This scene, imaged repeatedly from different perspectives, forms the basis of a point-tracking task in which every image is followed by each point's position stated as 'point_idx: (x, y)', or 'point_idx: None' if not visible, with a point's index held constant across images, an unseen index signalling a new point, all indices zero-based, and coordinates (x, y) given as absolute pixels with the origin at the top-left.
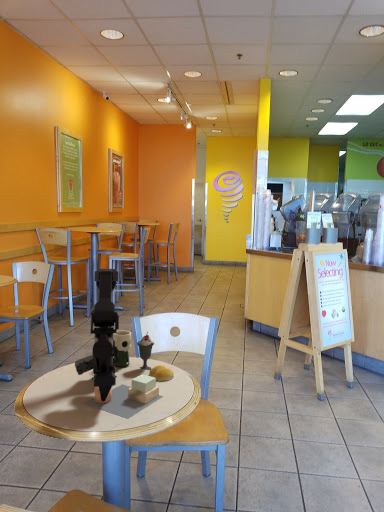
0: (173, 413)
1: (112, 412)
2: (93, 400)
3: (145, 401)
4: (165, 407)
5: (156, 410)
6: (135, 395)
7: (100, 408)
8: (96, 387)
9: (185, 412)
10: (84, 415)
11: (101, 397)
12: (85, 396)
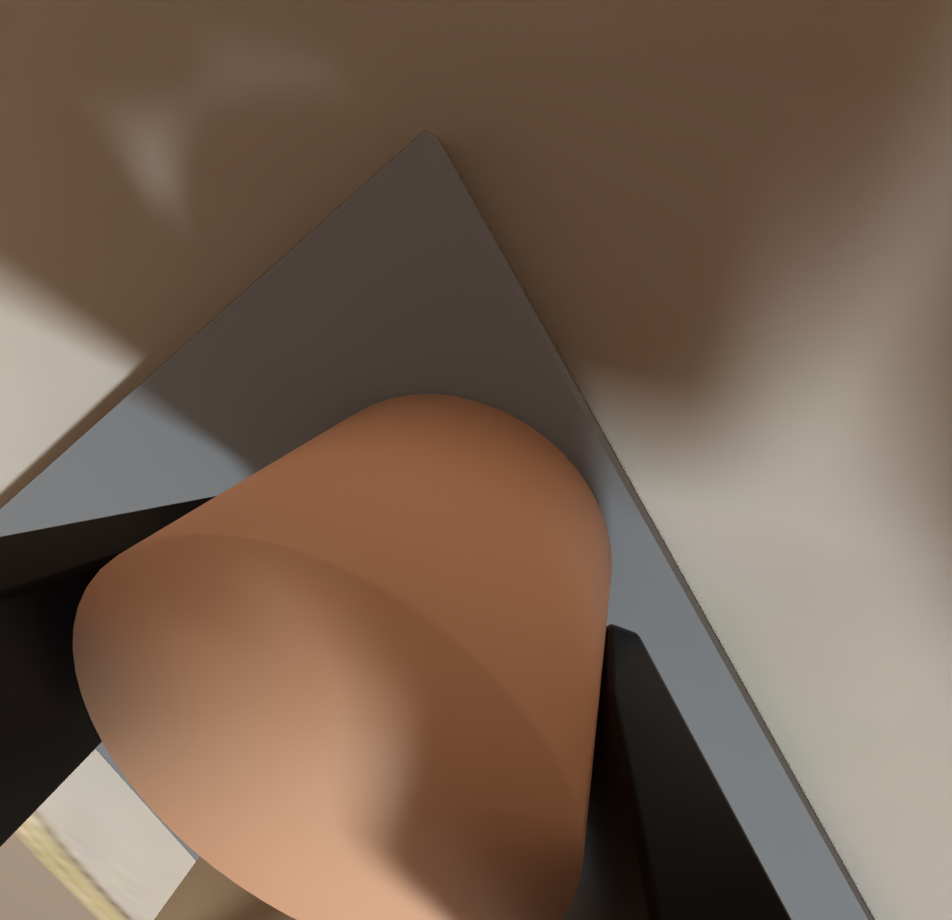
0: (70, 853)
1: (47, 496)
2: (504, 389)
3: (194, 866)
4: (160, 883)
5: (118, 816)
6: (261, 900)
7: (159, 395)
8: (337, 631)
9: (82, 900)
10: (22, 57)
11: (156, 518)
12: (936, 291)
